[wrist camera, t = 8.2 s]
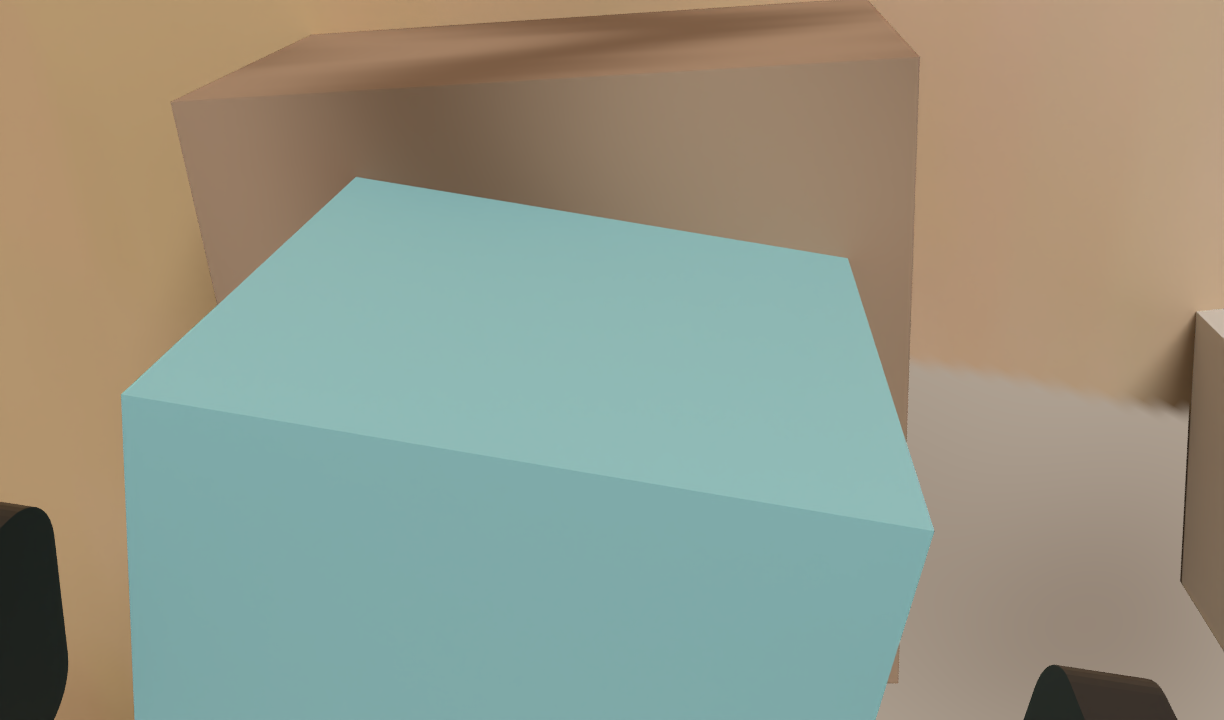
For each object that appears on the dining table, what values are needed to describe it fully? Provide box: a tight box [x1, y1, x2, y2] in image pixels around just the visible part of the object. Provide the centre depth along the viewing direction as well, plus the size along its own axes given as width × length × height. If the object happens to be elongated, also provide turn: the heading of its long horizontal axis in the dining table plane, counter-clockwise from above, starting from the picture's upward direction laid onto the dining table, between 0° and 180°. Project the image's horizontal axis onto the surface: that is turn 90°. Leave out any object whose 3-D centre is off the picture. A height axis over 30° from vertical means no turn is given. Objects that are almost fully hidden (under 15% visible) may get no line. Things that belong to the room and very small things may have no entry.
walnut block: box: [171, 0, 920, 683], centre depth 16 cm, size 8×8×5 cm
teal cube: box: [121, 177, 934, 720], centre depth 11 cm, size 6×6×6 cm
